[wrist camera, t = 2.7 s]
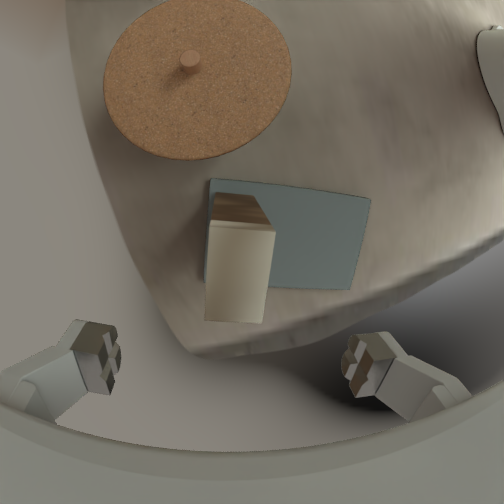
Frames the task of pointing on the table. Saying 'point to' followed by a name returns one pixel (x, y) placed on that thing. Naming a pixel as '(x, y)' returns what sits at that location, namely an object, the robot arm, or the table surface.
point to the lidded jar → (197, 78)
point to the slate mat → (305, 232)
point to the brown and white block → (238, 259)
